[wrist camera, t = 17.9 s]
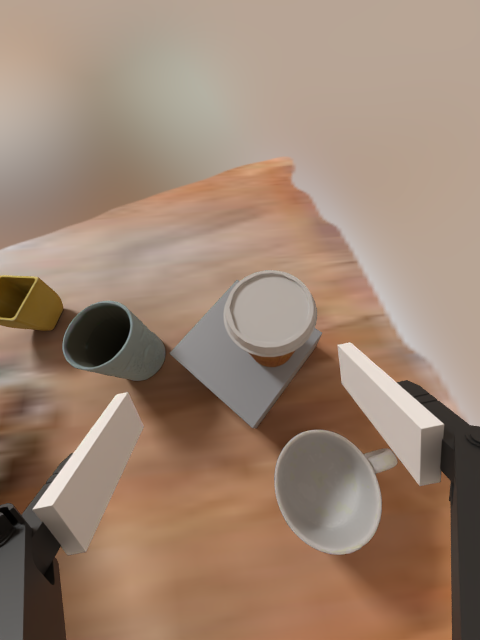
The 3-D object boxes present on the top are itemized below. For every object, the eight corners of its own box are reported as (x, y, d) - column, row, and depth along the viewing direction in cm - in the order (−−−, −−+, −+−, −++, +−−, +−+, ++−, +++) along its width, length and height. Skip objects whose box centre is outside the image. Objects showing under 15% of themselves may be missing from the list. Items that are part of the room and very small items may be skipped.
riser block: (256, 428, 35) (252, 428, 30) (183, 363, 41) (169, 353, 36) (316, 346, 39) (322, 332, 34) (241, 297, 45) (237, 279, 40)
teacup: (285, 531, 30) (287, 563, 23) (267, 436, 35) (265, 438, 28) (398, 515, 29) (437, 542, 22) (364, 420, 34) (387, 417, 27)
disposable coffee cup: (246, 311, 37) (234, 261, 26) (309, 321, 35) (324, 272, 24) (230, 371, 33) (209, 342, 23) (300, 386, 31) (312, 362, 21)
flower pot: (76, 300, 51) (38, 276, 43) (58, 339, 47) (13, 320, 39) (42, 299, 52) (-1, 274, 44) (22, 336, 49) (-29, 317, 41)
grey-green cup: (177, 365, 41) (142, 342, 31) (125, 398, 40) (69, 386, 29) (156, 321, 46) (119, 287, 35) (108, 350, 45) (54, 324, 34)
